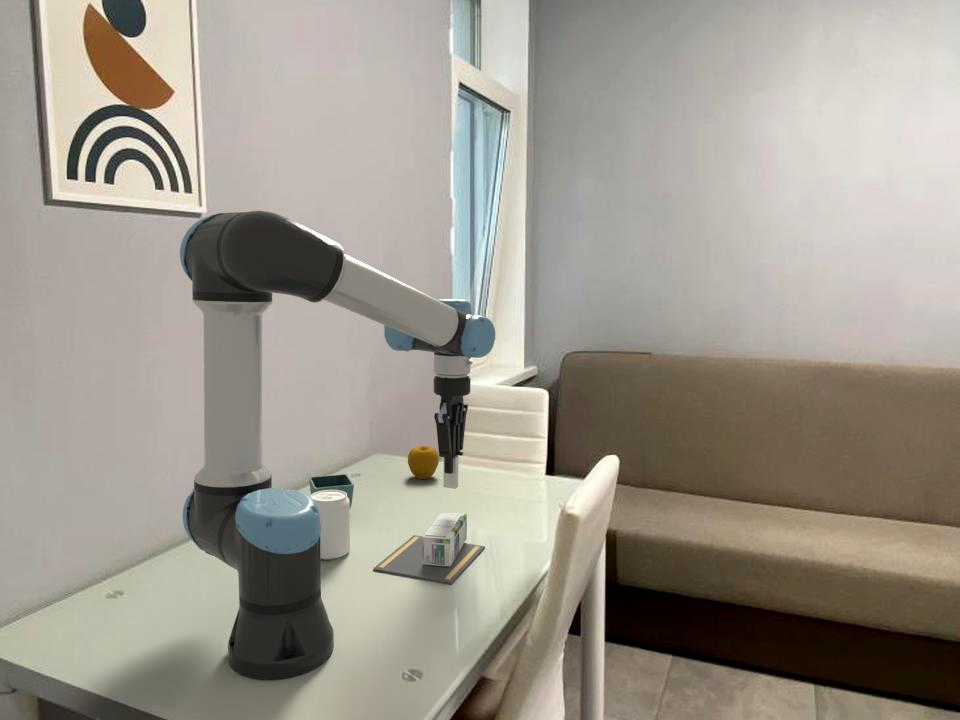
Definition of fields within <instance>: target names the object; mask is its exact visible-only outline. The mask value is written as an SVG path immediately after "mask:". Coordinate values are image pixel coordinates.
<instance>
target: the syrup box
mask: <svg viewBox="0 0 960 720" xmlns="http://www.w3.org/2000/svg"><path fill="white" fill-rule="evenodd" d="M467 516H468V515H467V513H453V512H440V514H439V515H438V516H437V517H436V519H435V520H434V521H433V523H432V524H431V525H430V527H429V528H428V529H427V531H426V532H425V533H424V534H423V535H422V537H423V549H422V554H423V565H434V566H451V565H452V563H453V561H454V560H455V558H456V556H457V554H458V553H459V551H460V549H461V548H462V546H463V544H464V543H465V542H466V540H467V532H468V531H467V530H468V517H467Z"/></svg>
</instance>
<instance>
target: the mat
mask: <svg viewBox="0 0 960 720" xmlns="http://www.w3.org/2000/svg"><path fill="white" fill-rule="evenodd" d="M485 547H486V546H485V545H479V544H472V543H465V542H464V544H463V546H462V548H461V549H460V551H459V553H458V554H457V556H456V558H455V560H454V561H453V563H452V565H451V566H434V565H423V554H422V549H423V535H422V536H421V535H415V534H414V535H412V536H411V537H410V538H409V539H407V540H406V541H405V542H404V543H402V544H401V545H400V546H399V547H397V549H395V550H394V551H393V552H391V553H390V554H388V556H386V557H385V558H384V559H382V561H380V562H379V563H378V564H377V565H376V566H374V567H373V568H372V571H374V572H380V573H386V574H390V575H397V576H401V577H402V576H403V577H409V578H412V579H420V580H425V581H428V582H429V581H430V582H437V583H443V584H447V585H453V584H454V582H455V581H456V580H457V579H458V578H459V577H460V576H461V575H462V574H463V572H465V571H466V569H467V568H468V567H469V566H470V565H471V564H472V563H473V562H474V561H475V559H477V558H478V557H479V555H480V554H481V553H482V552H483V551H484V550H485Z"/></svg>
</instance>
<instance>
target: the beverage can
mask: <svg viewBox="0 0 960 720" xmlns="http://www.w3.org/2000/svg"><path fill="white" fill-rule="evenodd" d="M309 496H310V497H311V498H312V499H313V500H314V501H315V502H316V504H317V506H318V509H319V515H320V523H321V534H320V550H321V560H336V559H339V558H341V557H343V556H345V555H347V554H348V553H349V552H350V551H351V527H350V526H351V516H350V515H351V513H350V512H351V508H350V501H349V498H348V497H347V493H346V492H344V491H340V490H322V491H318V492H315V493H313V494H311V493H310V495H309Z"/></svg>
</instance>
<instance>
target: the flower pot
mask: <svg viewBox="0 0 960 720" xmlns="http://www.w3.org/2000/svg"><path fill="white" fill-rule="evenodd" d="M308 482H309V487H310V488H309V490H310V495H311V494H313V493H315V492H318V491H322V490H340V491H344V492H346V493H347V497H348V498H349V501H350V509H351V507H352V503H353V498H354V497H353V496H354V489H355V484H354V482H353V480H351V478H350V476H349V475H348V474H347V473H342V474H341V473H340V474H332V475H331V474H329V475H321V476H320V475H318V476H311V477H308Z"/></svg>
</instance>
